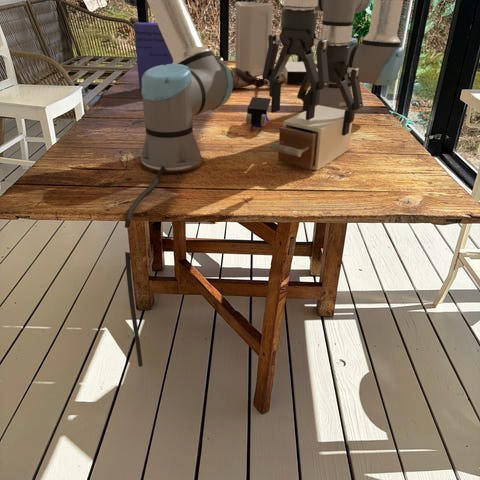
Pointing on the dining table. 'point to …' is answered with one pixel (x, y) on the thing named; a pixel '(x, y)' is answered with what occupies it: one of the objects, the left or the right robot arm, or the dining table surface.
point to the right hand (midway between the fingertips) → (325, 129)
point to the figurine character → (257, 112)
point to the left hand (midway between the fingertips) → (292, 114)
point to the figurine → (248, 79)
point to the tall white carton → (252, 35)
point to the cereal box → (150, 48)
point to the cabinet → (324, 133)
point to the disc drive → (294, 72)
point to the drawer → (296, 146)
